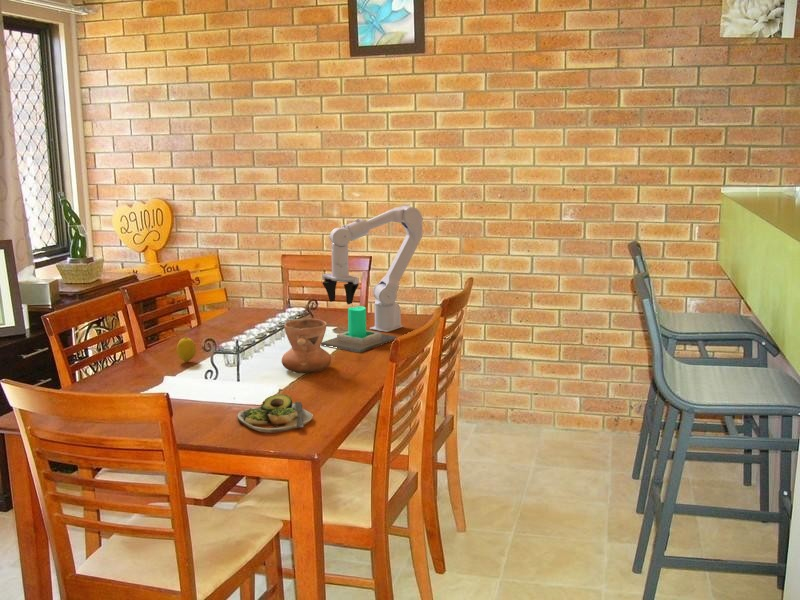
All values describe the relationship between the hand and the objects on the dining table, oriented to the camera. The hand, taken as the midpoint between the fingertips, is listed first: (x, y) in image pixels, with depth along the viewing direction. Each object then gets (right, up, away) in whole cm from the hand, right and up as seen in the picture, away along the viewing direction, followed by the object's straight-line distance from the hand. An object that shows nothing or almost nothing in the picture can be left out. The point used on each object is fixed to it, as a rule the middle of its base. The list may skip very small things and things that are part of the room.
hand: (340, 302), depth 294 cm
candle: (+6, -12, -12) cm, 18 cm away
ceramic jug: (-7, -20, -42) cm, 47 cm away
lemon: (-44, -18, -34) cm, 59 cm away
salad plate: (-10, -29, -84) cm, 89 cm away
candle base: (+7, -13, -12) cm, 19 cm away
